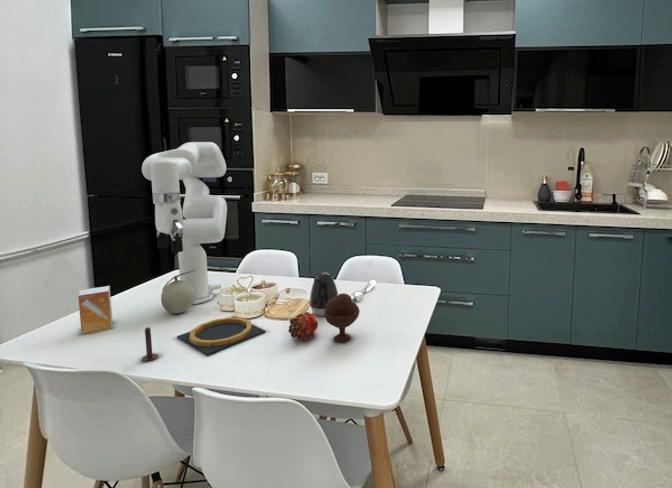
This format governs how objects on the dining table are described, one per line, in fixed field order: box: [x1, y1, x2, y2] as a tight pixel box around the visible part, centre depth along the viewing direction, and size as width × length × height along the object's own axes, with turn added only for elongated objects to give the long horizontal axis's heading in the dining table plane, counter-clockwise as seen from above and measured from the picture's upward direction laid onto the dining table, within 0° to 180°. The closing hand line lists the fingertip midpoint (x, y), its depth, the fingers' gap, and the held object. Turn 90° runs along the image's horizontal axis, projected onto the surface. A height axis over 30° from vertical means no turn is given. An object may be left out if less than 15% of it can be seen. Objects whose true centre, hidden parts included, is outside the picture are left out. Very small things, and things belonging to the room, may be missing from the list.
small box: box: [77, 285, 113, 335], centre depth 143 cm, size 8×6×13 cm
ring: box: [189, 316, 252, 347], centre depth 138 cm, size 18×18×1 cm
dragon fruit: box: [287, 311, 319, 341], centre depth 137 cm, size 8×8×12 cm
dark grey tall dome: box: [309, 271, 339, 317], centre depth 154 cm, size 10×10×15 cm
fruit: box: [160, 270, 196, 315], centre depth 155 cm, size 10×12×15 cm
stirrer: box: [350, 280, 377, 303], centre depth 175 cm, size 20×4×5 cm
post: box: [141, 326, 159, 363], centre depth 123 cm, size 4×4×9 cm
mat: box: [176, 315, 267, 356], centre depth 138 cm, size 19×19×1 cm
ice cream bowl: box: [324, 293, 360, 344], centre depth 134 cm, size 11×11×15 cm
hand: (170, 249), depth 141 cm, fingers open, 9 cm apart
